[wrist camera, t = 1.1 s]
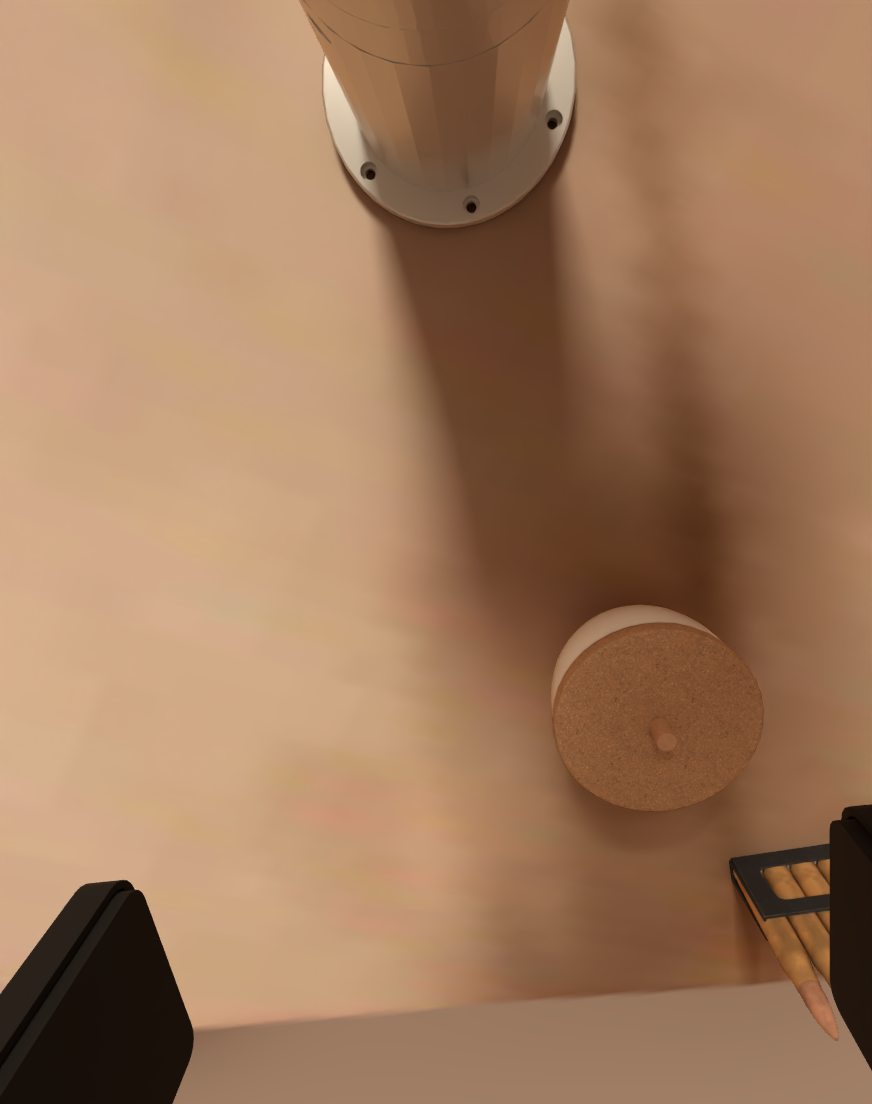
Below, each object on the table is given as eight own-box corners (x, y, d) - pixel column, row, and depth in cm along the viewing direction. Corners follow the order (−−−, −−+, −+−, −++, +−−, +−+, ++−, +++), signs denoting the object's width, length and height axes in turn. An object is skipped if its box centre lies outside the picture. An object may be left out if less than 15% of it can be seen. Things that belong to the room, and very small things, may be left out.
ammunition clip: (731, 880, 45) (819, 1055, 34) (728, 858, 45) (816, 1028, 33) (893, 857, 44) (1042, 1030, 33) (892, 834, 44) (1042, 1002, 32)
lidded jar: (630, 545, 39) (676, 598, 30) (748, 659, 41) (826, 742, 32) (504, 661, 42) (513, 743, 33) (620, 765, 43) (658, 869, 34)
